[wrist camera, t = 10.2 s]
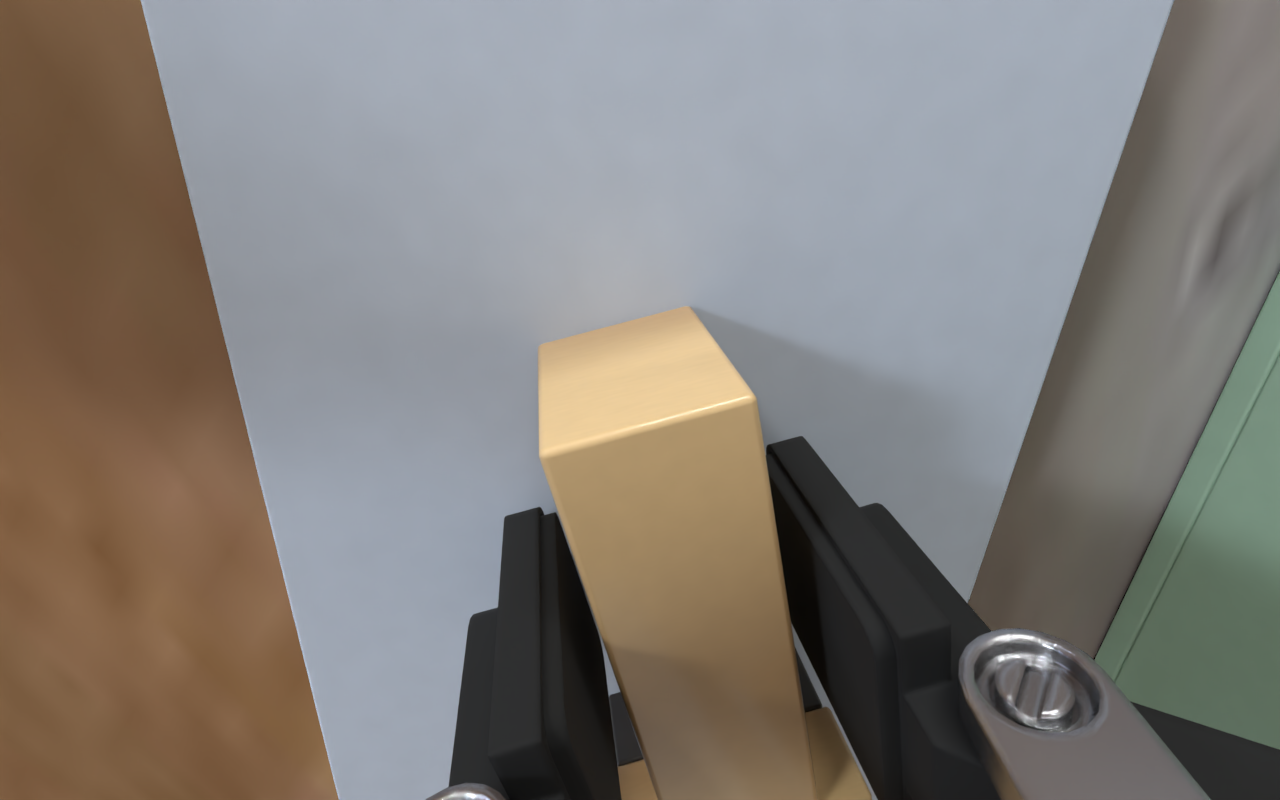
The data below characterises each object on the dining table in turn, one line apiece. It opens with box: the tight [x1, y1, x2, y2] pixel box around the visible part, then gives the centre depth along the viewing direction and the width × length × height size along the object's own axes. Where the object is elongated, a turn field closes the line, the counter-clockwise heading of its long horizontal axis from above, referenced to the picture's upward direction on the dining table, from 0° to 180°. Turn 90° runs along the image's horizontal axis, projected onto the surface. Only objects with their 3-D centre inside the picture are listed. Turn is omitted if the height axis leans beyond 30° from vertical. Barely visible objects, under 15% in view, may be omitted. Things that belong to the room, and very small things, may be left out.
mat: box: [141, 0, 1174, 800], centre depth 12 cm, size 20×12×1 cm, turn 178°
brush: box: [538, 306, 872, 800], centre depth 10 cm, size 12×4×3 cm, turn 13°
